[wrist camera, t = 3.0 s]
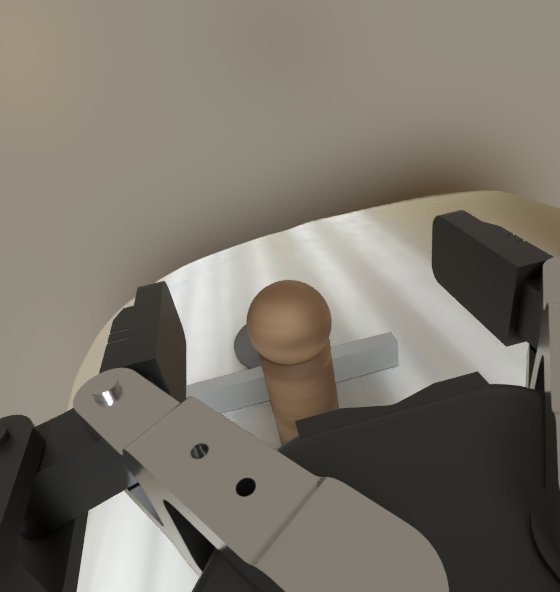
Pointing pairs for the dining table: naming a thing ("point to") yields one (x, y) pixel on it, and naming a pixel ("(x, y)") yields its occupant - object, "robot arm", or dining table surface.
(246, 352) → the pad
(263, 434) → the dining table surface
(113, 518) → the dining table surface
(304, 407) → the skittle
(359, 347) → the low wall
